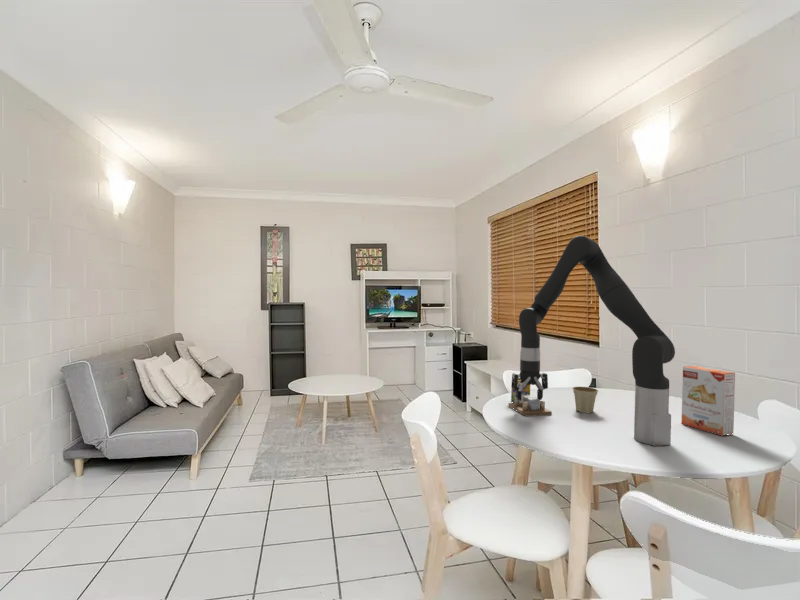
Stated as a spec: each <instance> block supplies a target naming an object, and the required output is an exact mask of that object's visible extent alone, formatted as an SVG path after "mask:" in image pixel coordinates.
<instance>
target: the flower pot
mask: <svg viewBox="0 0 800 600" xmlns="http://www.w3.org/2000/svg"><path fill="white" fill-rule="evenodd" d="M572 390H573V394H574V402H575V410H576V411H579V412H580V413H585V414H588V413H589V414H590V413H594V409H595V403H596V397H597V396H598V392H599V389H596V388H594V387H588V386H573V387H572Z"/></svg>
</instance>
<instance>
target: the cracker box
mask: <svg viewBox="0 0 800 600" xmlns="http://www.w3.org/2000/svg"><path fill="white" fill-rule="evenodd" d="M735 383H736V373H735V372H731V371H727V370H720V369H714V368H710V367H709V368H708V367H702V366H698V365H685V366H683V367H682V390H681V393H682V396H681V425H685V426H687V425H688V427H692V428H694V427H695V429H697V428H698V430H700V429H702V430H701V431H704V430H705V431H704V432H707V431H709V432H708V433H710V432H713V433H716V434H719V435H718V436H720V435H727V434H732V433H733V434H734V421H735V390H736V389H735V388H736V384H735ZM713 433H712V434H713ZM716 434H715V435H716ZM733 434H732V435H733ZM727 436H728V435H727Z"/></svg>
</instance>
